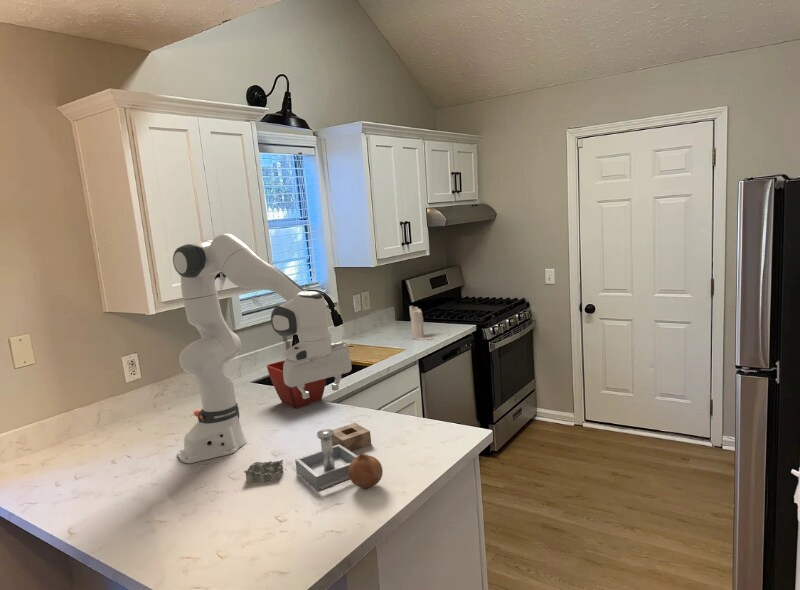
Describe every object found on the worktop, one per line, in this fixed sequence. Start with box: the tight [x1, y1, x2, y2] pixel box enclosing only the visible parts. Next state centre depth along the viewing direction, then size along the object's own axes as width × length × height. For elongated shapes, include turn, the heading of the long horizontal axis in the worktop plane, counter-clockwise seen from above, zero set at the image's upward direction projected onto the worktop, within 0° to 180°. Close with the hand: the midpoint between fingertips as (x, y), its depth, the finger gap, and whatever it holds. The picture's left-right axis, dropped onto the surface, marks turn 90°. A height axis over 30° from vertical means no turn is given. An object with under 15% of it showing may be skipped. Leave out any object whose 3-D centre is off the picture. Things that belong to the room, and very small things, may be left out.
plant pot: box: [266, 359, 327, 409], centre depth 226 cm, size 19×19×17 cm
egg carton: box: [243, 459, 284, 484], centre depth 163 cm, size 11×8×4 cm
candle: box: [409, 305, 435, 341], centre depth 319 cm, size 7×14×20 cm, turn 59°
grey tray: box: [294, 444, 358, 493], centre depth 160 cm, size 15×15×4 cm
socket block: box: [331, 422, 372, 453], centre depth 176 cm, size 10×10×6 cm
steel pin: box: [316, 428, 336, 472], centre depth 159 cm, size 5×5×12 cm
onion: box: [348, 452, 384, 490], centre depth 150 cm, size 10×9×10 cm
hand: (321, 393), depth 157 cm, fingers open, 8 cm apart
